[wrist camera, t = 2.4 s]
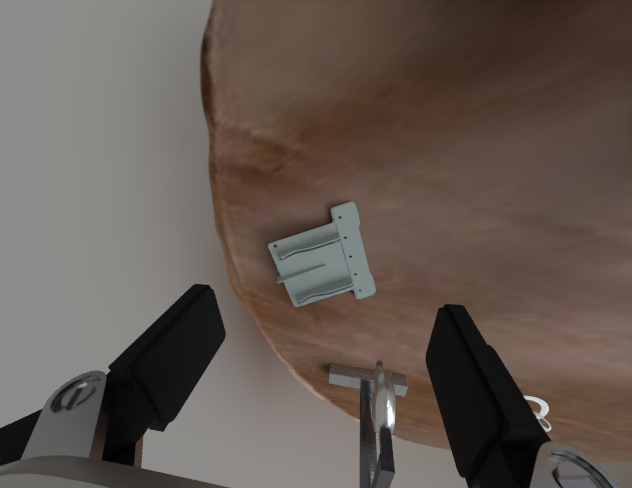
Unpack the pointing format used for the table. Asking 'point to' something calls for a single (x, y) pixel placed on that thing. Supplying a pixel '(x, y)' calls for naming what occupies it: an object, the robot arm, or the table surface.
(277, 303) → the table surface
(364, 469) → the metal desk lamp
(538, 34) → the table surface
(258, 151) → the table surface
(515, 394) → the robot arm
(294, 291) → the metal bracket
